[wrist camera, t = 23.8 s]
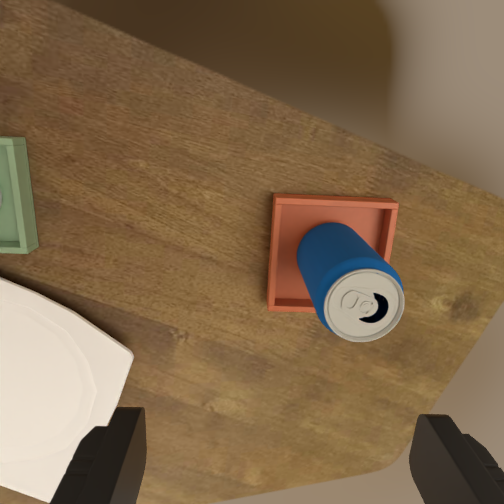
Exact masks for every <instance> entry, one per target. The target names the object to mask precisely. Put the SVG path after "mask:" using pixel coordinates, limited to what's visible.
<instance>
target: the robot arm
mask: <svg viewBox="0 0 504 504" xmlns="http://www.w3.org/2000/svg"><path fill="white" fill-rule="evenodd" d="M146 453H147V447H146V424H145V409H144V408H143V407H117V408H116V410H115V412H114V414H113V416H112V419H111V421H110V423H109V426H95V427H94V428H93V429H92V430H91V431H90V432H89V433H88V434H87V435H86V436H85V437H83V438H82V439H81V441H80V443H79V445H78V447H77V449H76V451H75V453H74V455H73V458H72V460H71V461H70V463H69V465H68V467H67V469H66V473H65V474H64V475H63V477H62V479H61V481H60V483H59V485H58V487H57V489H56V491H55V493H54V496H53V498H52V500H51V502H50V504H136V500H137V497H138V493H139V489H140V486H141V482H142V478H143V474H144V470H145V464H146ZM409 464H410V470H411V474H412V477H413V480H414V482H415V484H416V486H417V488H418V490H419V492H420V494H421V496H422V498H423V500H424V503H425V504H504V472H503V471H502V469H501V468H499V467H498V464H497V463H496V461H495V460H494V458H493V457H492V456H491V454H490V453H489V452H488V451H487V449H486V448H485V447H484V446H483V445H481V444H480V443H479V442H478V441H476V440H475V439H474V438H473V437H471V436H470V435H469V434H462V433H461V432H460V430H459V429H458V427H457V426H456V424H455V423H454V422H453V420H452V419H451V418H450V417H449V416H448V415H439V414H421V415H419V417H418V419H417V423H416V427H415V432H414V437H413V441H412V446H411V450H410V455H409Z"/></svg>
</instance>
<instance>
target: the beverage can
mask: <svg viewBox="0 0 504 504" xmlns="http://www.w3.org/2000/svg"><path fill="white" fill-rule="evenodd" d="M297 264H298V267H299V270H300V272H301V275H302V277H303V280H304V282H305V285H306V287H307V290H308V292H309V295H310V297H311V300H312V303H313V305H314V308H315V310H316V313H317V315H318V317H319V319H320V321H321V322H322V324H323V325H324V326H325V327H326V328H327V329H329V330H330V331H331V332H333V333H335V334H337V335H338V336H340V337H342V338H344V339H346V340H349V341H354V342H367V341H372V340H375V339H378V338H380V337H382V336H384V335H386V334H387V333H388V332H390V331H391V330H392V329H393V328H394V327H395V326H396V324H397V323H398V321H399V320H400V318H401V316H402V313H403V310H404V295H403V294H404V293H403V286H402V282H401V280H400V277H399V276H398V274H397V273H396V271H395V270H394V269H393V268H392V267H391V266H390V265H389V264H388V263H387V262H386V261H385V260H384V259H383V258H382V257H381V256H380V255H379V254H378V253H377V252H376V251H375V250H374V249H373V248H372V247H371V246H370V245H369V244H368V243H367V242H366V241H365V240H363V239H362V238H361V237H360V236H359V235H358V234H357V233H356V232H355V231H354V230H353V229H352V228H350V227H349V226H347V225H344V224H341V223H336V222H329V223H323V224H320V225H318V226H316V227H314V228H312V229H311V230H310V231H308V232H307V233H306V234H305V235H304V237H303V238H302V239H301V241H300V243H299V246H298V249H297Z"/></svg>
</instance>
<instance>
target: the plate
mask: <svg viewBox="0 0 504 504" xmlns="http://www.w3.org/2000/svg"><path fill="white" fill-rule="evenodd" d="M133 359H134V355H133V353H132V351H131V350H130V349H128V348H127V347H125V346H124V345H122V344H121V343H119V342H118V341H117V340H115V339H114V338H112V337H111V336H109V335H108V334H106V333H105V332H104V331H102V330H101V329H99V328H98V327H96V326H95V325H93V324H92V323H90V322H89V321H88V320H86V319H85V318H83V317H82V316H80V315H79V314H77V313H76V312H74V311H72V310H70V309H68V308H66V307H65V306H63V305H61V304H59V303H57V302H55V301H53V300H51V299H49V298H47V297H45V296H43V295H41V294H39V293H37V292H35V291H32V290H30V289H28V288H25V287H23V286H20V285H18V284H16V283H13V282H11V281H9V280H6V279H4V278H1V277H0V485H1V486H4V487H6V488H9V489H12V490H15V491H17V492H20V493H23V494H26V495H29V496H31V497H34V498H37V499H40V500H42V501H45V502H48V503H50V502H51V500H52V498H53V496H54V493H55V491H56V489H57V487H58V485H59V483H60V481H61V479H62V477H63V475H64V474H65V473H66V469H67V467H68V465H69V463H70V461H71V460H72V458H73V455H74V453H75V451H76V449H77V447H78V445H79V443H80V441H81V439H82V438H83V437H85V436H86V435H87V434H88V433H89V432H90V431H91V430H92V429H93V428H94V427H95V426H107V424H108V422H109V420H110V418H111V416H112V414H113V412H114V410H115V408H116V406H117V404H118V401H119V398H120V395H121V392H122V390H123V387H124V384H125V381H126V378H127V375H128V373H129V370H130V367H131V364H132V361H133Z"/></svg>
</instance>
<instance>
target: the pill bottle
mask: <svg viewBox="0 0 504 504" xmlns="http://www.w3.org/2000/svg"><path fill="white" fill-rule="evenodd" d="M1 205H2V192H1V189H0V208H1Z"/></svg>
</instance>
